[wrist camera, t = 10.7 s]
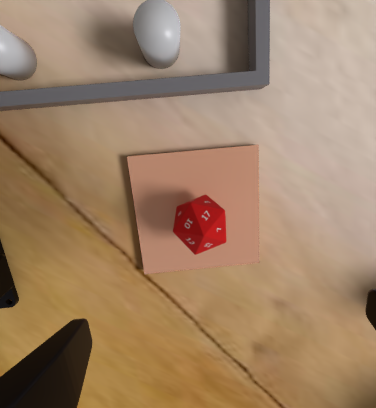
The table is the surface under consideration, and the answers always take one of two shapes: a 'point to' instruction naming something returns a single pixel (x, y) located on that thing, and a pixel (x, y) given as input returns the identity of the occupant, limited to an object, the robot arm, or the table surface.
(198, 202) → the die
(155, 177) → the terracotta tile
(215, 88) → the spacer field
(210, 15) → the table surface
